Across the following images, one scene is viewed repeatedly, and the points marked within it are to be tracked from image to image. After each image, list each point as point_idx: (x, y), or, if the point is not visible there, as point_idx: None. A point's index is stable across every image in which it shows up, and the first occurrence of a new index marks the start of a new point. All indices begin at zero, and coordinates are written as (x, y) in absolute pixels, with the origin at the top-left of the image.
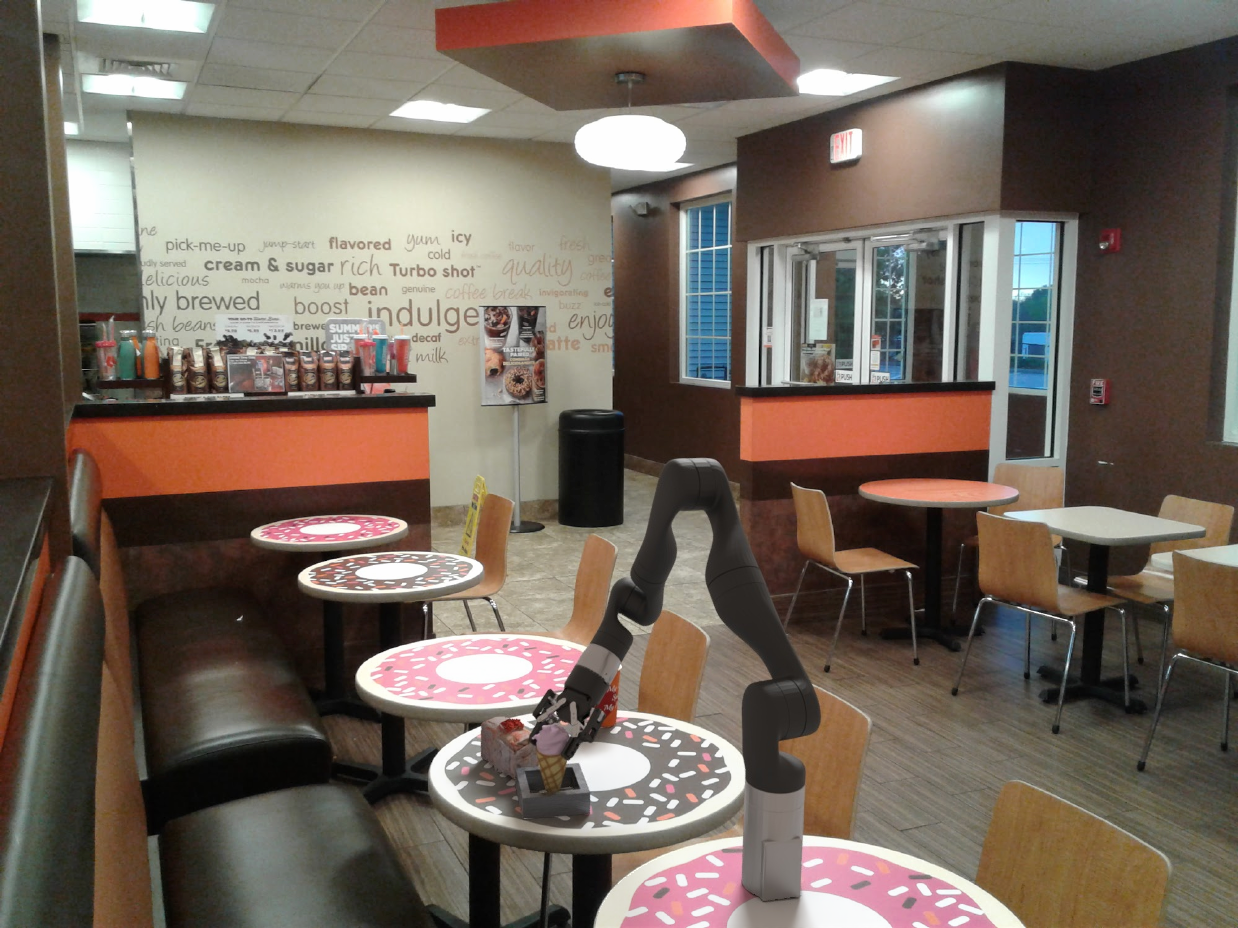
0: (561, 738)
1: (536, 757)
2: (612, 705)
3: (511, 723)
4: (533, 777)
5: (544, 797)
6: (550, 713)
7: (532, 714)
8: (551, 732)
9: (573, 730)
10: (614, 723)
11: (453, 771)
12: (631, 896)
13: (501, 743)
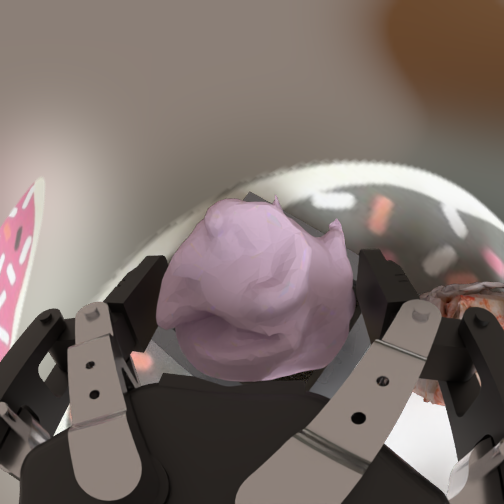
0: (166, 276)
1: (420, 380)
2: None
3: None
4: (354, 317)
5: None
6: (366, 356)
7: (484, 310)
8: (200, 228)
9: (104, 322)
10: None
11: (499, 243)
12: (35, 209)
13: (489, 282)
